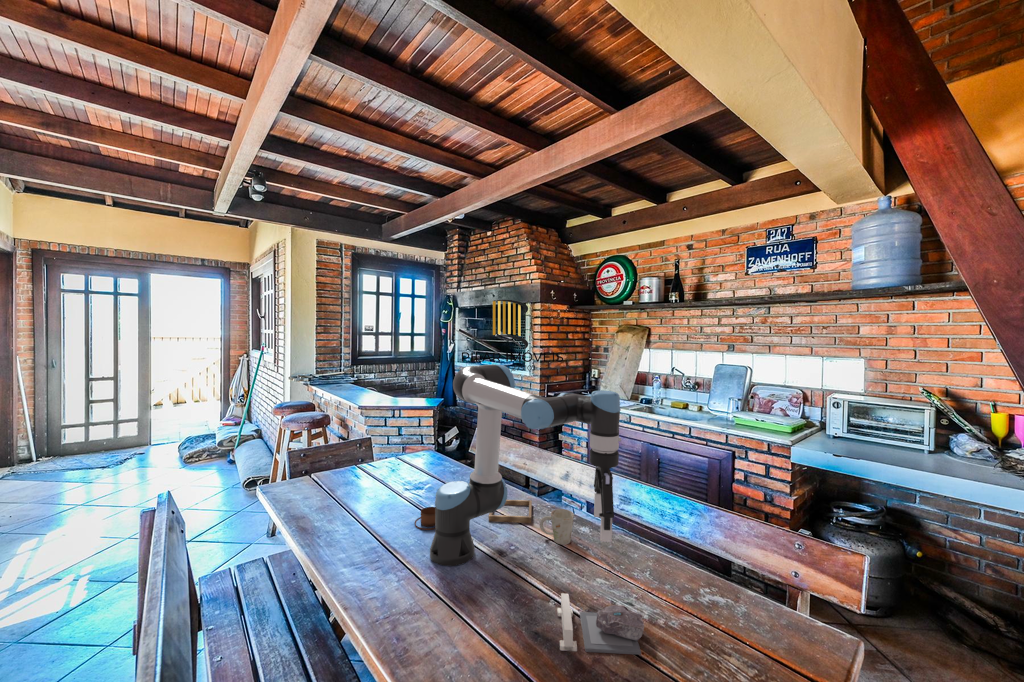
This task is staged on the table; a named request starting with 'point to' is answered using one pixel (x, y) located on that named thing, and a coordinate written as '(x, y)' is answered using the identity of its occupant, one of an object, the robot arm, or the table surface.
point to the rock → (620, 622)
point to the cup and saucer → (427, 518)
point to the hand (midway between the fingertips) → (602, 528)
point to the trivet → (604, 638)
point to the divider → (566, 624)
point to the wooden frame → (513, 518)
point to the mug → (560, 525)
